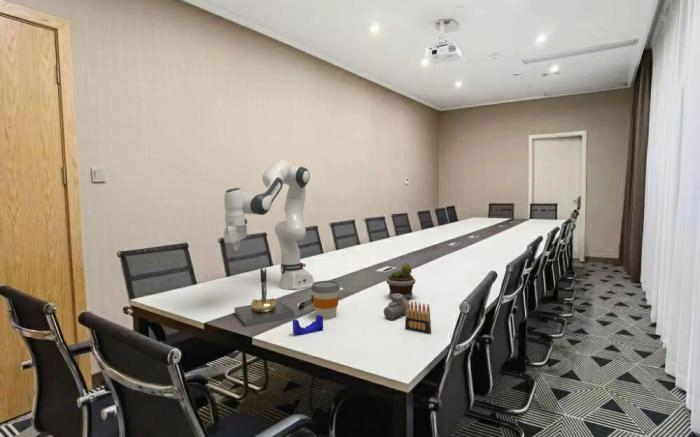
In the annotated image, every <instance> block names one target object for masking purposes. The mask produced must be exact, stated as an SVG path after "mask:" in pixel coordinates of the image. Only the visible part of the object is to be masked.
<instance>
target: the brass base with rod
mask: <svg viewBox="0 0 700 437" xmlns="http://www.w3.org/2000/svg"><path fill="white" fill-rule="evenodd" d="M267 278H268V277H267V269H266V267H263V268H260V284H261V286H260V289H261V299H255V298H254V299H252V301H251V304H250V305H251V310H252V311H254V312H267V311H271V310H274V309H275V308H276V301H277V300H275V298H274V297H273V298H267V294H268V293H267V289H268V288H267Z"/></svg>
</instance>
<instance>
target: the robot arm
mask: <svg viewBox="0 0 700 437" xmlns="http://www.w3.org/2000/svg"><path fill="white" fill-rule="evenodd" d="M261 179H262V183H263V185H264V186H265V188H266V189H265V191H264V192H263V193H258V194H249V193H246V192H244V191H243V189H241V188H240V187H234V188H229V189H227V190H226V191H225V192H224V199H223V201H224V209H225V214H224V220H225V226H226V227H225V228H224V232H223V233H224V235H223V240H224V244H230V245H231V244H232V248H233V251H234V252H235V251H239V250H240V246H241V245H240V244H241V241H242V240H244V239H247V235H248V233H247V232H248V231H247V230H248V229H247V228H248V227H247V224H248V219H246V217H245V214H247V215H261V216H264V215H267V213H268V212H269V211H270V209H271V206H272V204H273V202H274V201H275V199H276V198H277V196H278V195H279V194H280V192H281V191H282V188H283V186H284V185H288V189H287V192H286V197H285V203H284V207H283V208H284V209H283V210H284V214H285V220H282V221H280V222H278V223H277V224H276V225H275V227H274V233H275V236H276V237H277V240H278V244H279V248H280V259H281V260H280V261H281V263H280V273H281V274H280V275H281V276H280V283H279V288H281V289H284V290H295V291H298V290H301V289H306V288H312V284H313V283H315V282H316V281H315V280H314V277H313V274H312V273H310V272H309V271H307V270H306V269H304V268H305V267H307V264H306V263H302V262H301V250H300V248H299V246H298V244H297V241H298V242H299V241H302V240H303V239H304V238H305V236H306V234H307V229H306V227H305V224H304V215H303V214H304V206H305V200H306V195H307V194H306V193H307V191H306V190H307V189H306V188H307V185H308V183H309V182H310V179H311V175H310V170H309V169H308V168H306V167H303V166H297V165H291V164H290V163H289V162H288V161H286V160H284V159H279V160H277V161H276V162H274V163H273V164H271V165H270V166H269V167H267V168H266V170H265V171H264V172H263V174H262V177H261Z"/></svg>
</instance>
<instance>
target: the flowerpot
mask: <svg viewBox="0 0 700 437" xmlns="http://www.w3.org/2000/svg"><path fill="white" fill-rule="evenodd" d="M408 262H409V261H407V262H406V263H403V264H402V266H401V269H397V270H398V271H397V270H395V271H392V273H391V275H388V277H387V278H386V280H385V282H386V284H387V285H388V288H389V296H390V297H391V298H392V295H393V294H396V293H398V294H402V295H403V298H405V299H407V301H409V300H410V299H412V297H413V295H414V294H413V287H414V285H415V283H416V279H415V278H414V277H413V275H412V272H413V268H412V267H413V266H411V265H410V263H408Z"/></svg>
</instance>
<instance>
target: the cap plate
mask: <svg viewBox="0 0 700 437" xmlns="http://www.w3.org/2000/svg"><path fill="white" fill-rule="evenodd" d="M275 301H276V308H275V309H274V310H271V311H267V312H254V311H252V310H251V304H248V305H244V306H243V305H242V306H236V307H234V308H233V310H234V311H233V312H234V316H236V317H237V318H238V320H240V321H241V323H242V324H243V325H244V326H245V327H249V326H250V327H251V326H256V325H261V324H266V323H272V322H276V321H281V320H287V319H292V318H295V310H294V309H293V308H291V307H290V306H288V305H286V304H285V303H284V302H282V301H281V300H275Z"/></svg>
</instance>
